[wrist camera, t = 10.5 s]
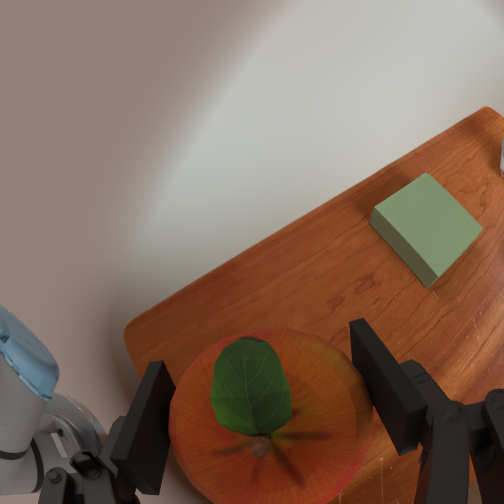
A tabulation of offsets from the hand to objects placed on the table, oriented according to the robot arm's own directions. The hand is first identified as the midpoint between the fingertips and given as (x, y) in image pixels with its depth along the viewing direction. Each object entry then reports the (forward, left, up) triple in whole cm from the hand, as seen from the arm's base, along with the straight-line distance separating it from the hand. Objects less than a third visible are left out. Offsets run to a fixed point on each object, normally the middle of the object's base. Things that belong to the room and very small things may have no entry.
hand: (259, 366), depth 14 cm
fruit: (0, -3, -4) cm, 5 cm away
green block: (+26, +15, -21) cm, 37 cm away
